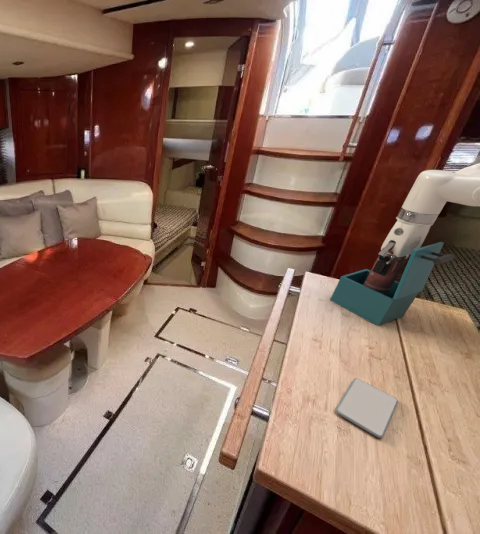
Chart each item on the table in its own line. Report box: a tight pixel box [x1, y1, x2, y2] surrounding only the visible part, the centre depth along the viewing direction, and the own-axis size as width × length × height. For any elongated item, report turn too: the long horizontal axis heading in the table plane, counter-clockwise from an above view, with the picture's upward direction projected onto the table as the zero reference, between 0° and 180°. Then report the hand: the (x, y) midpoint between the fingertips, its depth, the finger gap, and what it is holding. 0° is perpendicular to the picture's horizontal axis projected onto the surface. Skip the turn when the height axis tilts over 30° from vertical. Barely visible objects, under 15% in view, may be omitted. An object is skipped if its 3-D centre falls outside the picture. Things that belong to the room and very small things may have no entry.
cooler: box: [329, 268, 421, 327], centre depth 99 cm, size 15×13×10 cm
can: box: [364, 252, 406, 296], centre depth 95 cm, size 6×6×14 cm
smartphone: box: [335, 378, 399, 439], centre depth 70 cm, size 8×1×15 cm
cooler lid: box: [393, 241, 455, 300], centre depth 85 cm, size 15×13×5 cm
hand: (386, 270), depth 94 cm, fingers closed on can, 6 cm apart
